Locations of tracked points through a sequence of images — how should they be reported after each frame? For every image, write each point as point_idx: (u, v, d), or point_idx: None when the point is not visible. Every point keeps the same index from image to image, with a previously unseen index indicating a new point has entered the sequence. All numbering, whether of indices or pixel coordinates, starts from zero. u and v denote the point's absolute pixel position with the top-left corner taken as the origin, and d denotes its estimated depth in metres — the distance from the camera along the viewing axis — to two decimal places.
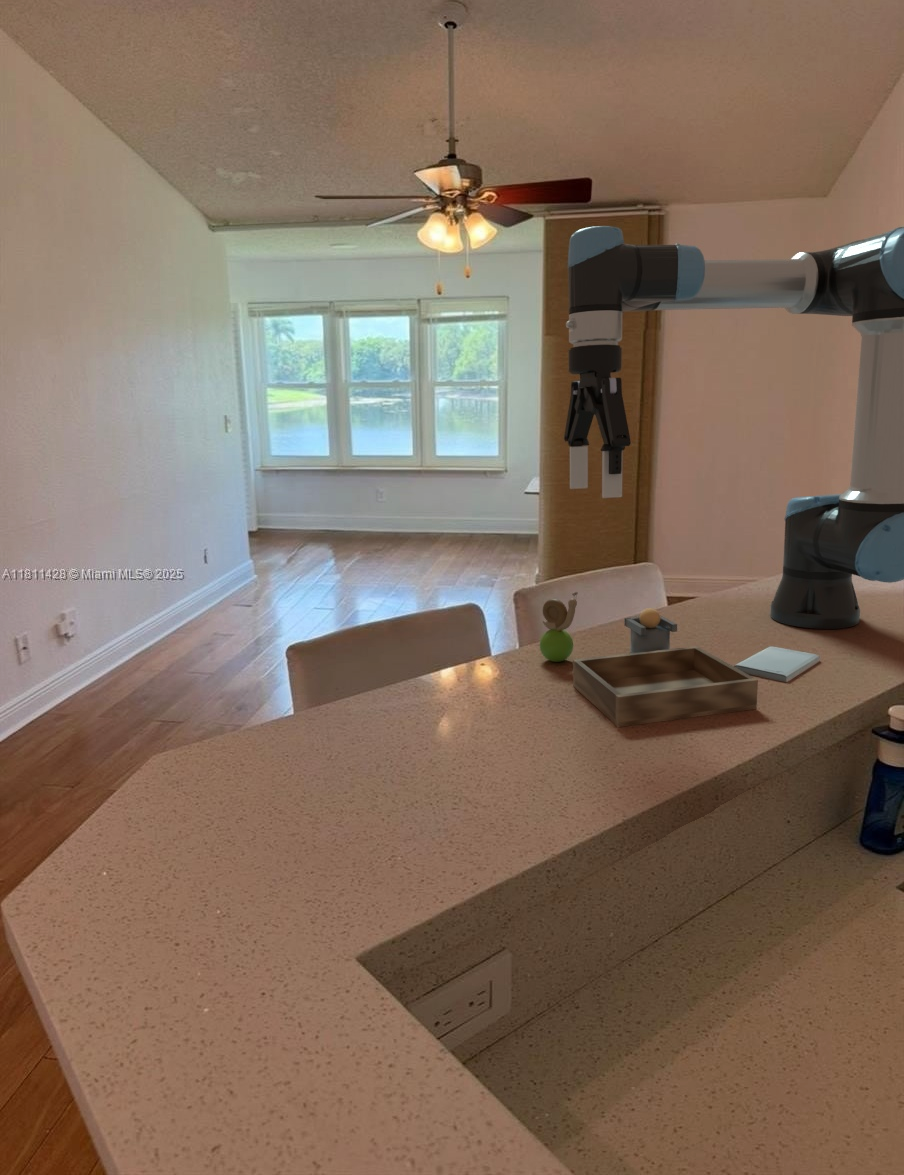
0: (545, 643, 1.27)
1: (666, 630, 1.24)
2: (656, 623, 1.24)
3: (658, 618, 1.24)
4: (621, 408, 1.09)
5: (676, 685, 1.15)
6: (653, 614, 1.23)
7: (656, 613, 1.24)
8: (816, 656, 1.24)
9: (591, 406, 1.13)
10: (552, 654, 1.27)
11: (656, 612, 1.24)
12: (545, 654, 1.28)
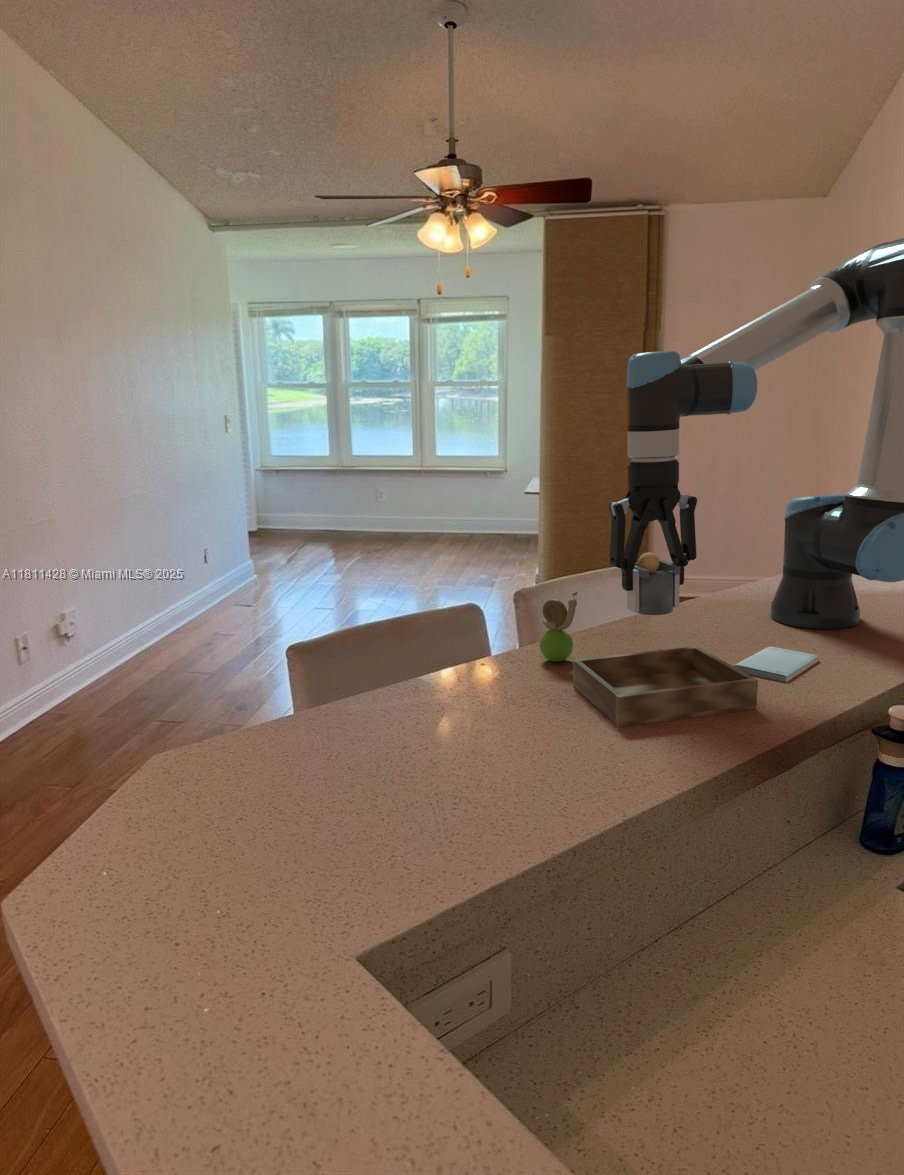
0: (545, 643, 1.27)
1: (669, 573, 1.22)
2: (656, 565, 1.22)
3: (656, 560, 1.21)
4: (616, 533, 1.19)
5: (676, 685, 1.15)
6: (650, 558, 1.21)
7: (652, 556, 1.22)
8: (815, 656, 1.24)
9: None
10: (552, 654, 1.27)
11: (652, 555, 1.22)
12: (545, 654, 1.28)
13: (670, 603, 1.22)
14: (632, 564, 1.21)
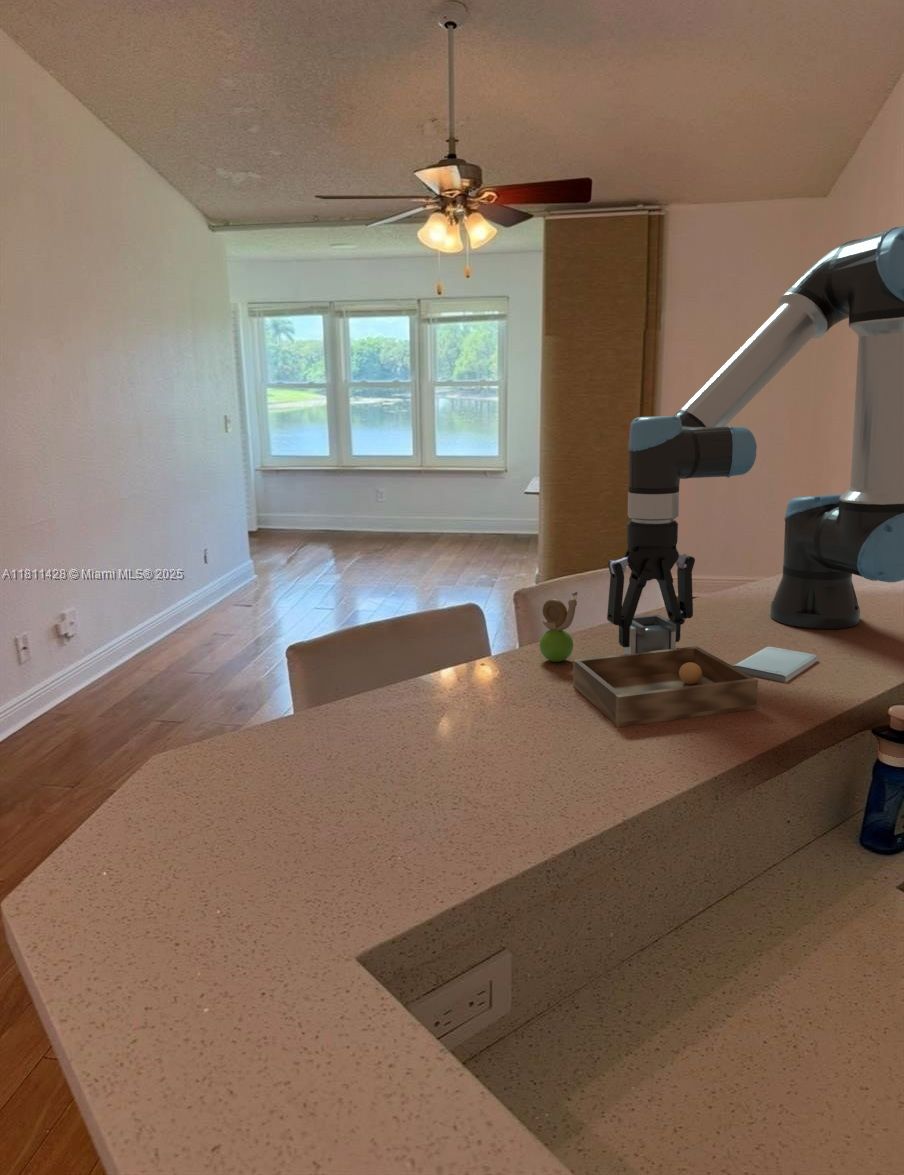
0: (545, 643, 1.27)
1: (665, 630, 1.24)
2: None
3: None
4: (614, 591, 1.21)
5: (676, 685, 1.15)
6: None
7: None
8: (814, 656, 1.24)
9: None
10: (552, 654, 1.27)
11: None
12: (545, 654, 1.28)
13: None
14: (629, 621, 1.23)
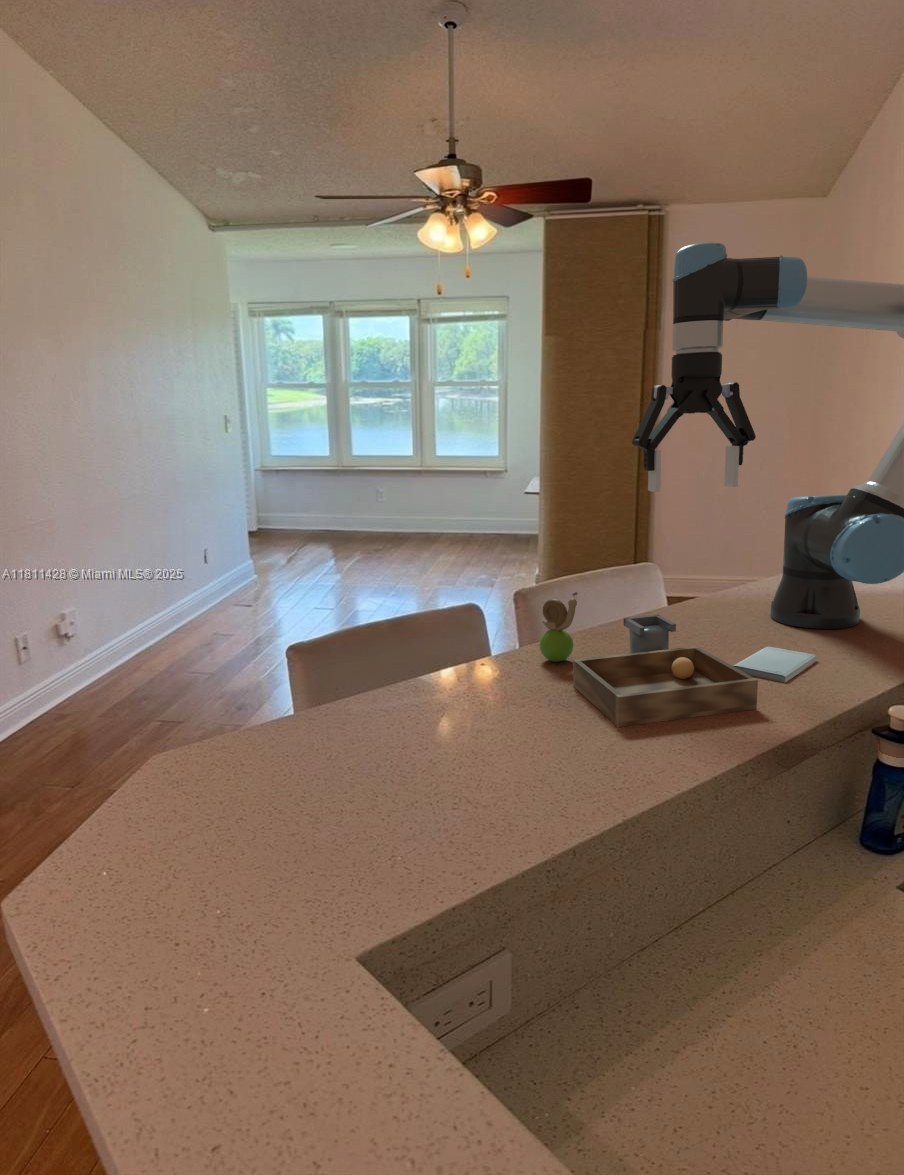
0: (545, 643, 1.27)
1: (665, 630, 1.24)
2: None
3: None
4: (650, 413, 1.23)
5: (676, 685, 1.15)
6: None
7: None
8: (813, 656, 1.24)
9: None
10: (552, 654, 1.27)
11: None
12: (545, 654, 1.28)
13: None
14: (655, 444, 1.24)
